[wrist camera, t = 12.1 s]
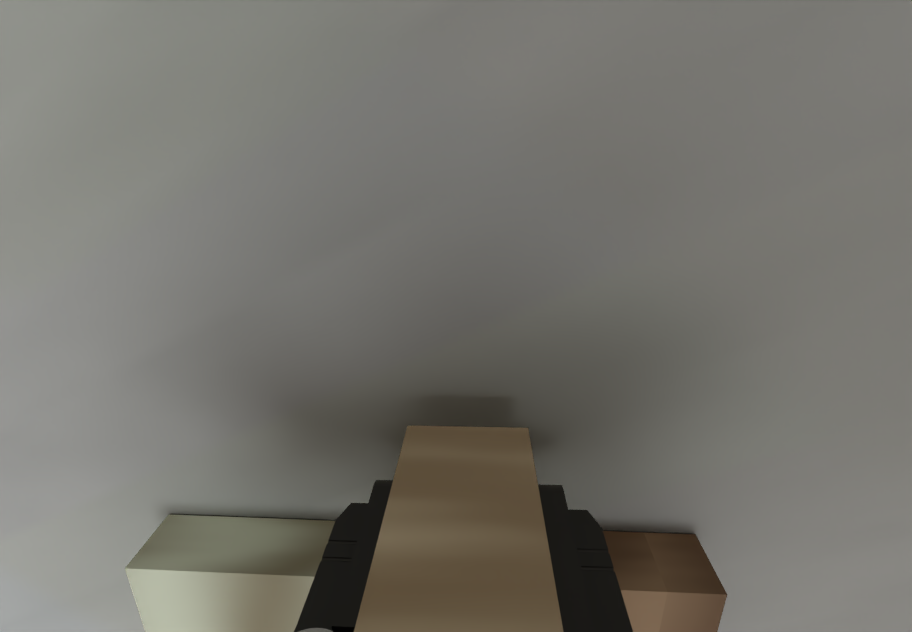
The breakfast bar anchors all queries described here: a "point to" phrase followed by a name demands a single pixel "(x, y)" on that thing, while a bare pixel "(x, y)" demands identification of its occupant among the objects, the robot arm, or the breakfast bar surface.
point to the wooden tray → (299, 554)
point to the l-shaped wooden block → (462, 538)
